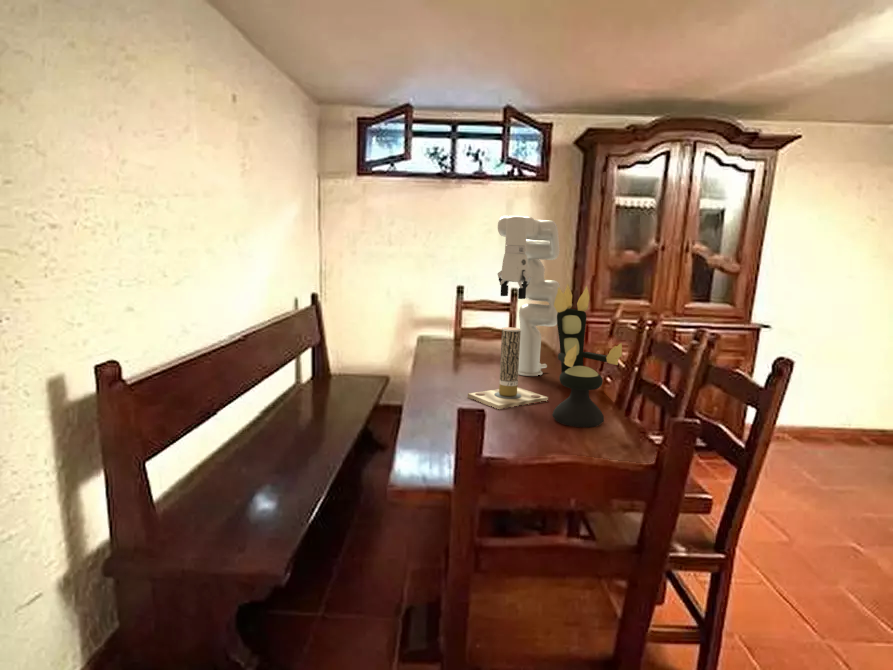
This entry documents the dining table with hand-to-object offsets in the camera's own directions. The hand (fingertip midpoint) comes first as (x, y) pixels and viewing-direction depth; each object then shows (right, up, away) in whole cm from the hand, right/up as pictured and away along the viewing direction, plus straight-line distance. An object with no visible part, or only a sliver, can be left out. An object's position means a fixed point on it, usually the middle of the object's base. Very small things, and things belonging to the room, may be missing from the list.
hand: (512, 297), depth 218 cm
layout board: (-2, -38, +3) cm, 38 cm away
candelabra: (+18, -43, -20) cm, 50 cm away
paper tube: (-2, -36, +3) cm, 37 cm away
